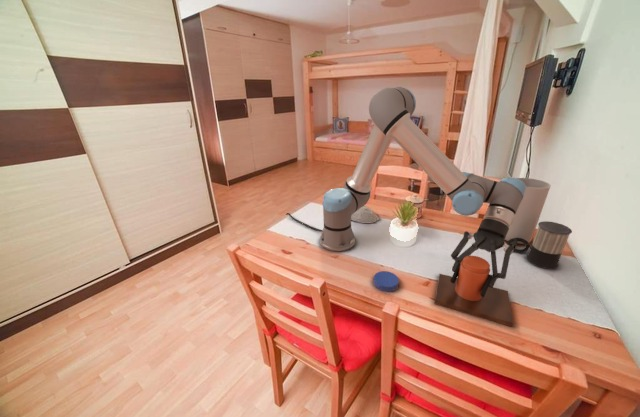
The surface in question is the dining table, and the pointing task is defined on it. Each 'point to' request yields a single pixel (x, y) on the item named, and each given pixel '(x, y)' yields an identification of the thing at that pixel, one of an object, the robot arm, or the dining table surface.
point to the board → (475, 302)
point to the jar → (472, 277)
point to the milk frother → (545, 244)
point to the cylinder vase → (528, 210)
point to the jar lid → (386, 281)
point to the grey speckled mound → (364, 215)
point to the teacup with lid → (416, 203)
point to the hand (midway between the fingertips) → (466, 288)
